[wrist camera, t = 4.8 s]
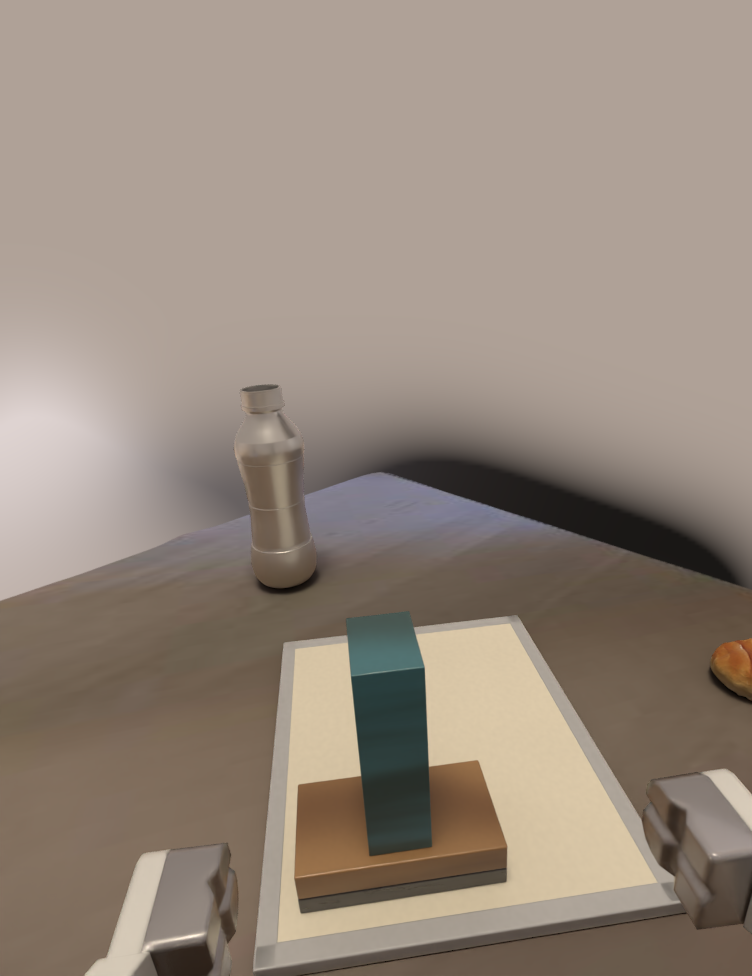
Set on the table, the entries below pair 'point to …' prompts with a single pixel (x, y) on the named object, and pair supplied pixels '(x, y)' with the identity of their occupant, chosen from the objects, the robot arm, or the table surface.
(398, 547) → the table surface
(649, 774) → the table surface
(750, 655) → the pastry
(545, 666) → the whiteboard
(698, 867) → the robot arm
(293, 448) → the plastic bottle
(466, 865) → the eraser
